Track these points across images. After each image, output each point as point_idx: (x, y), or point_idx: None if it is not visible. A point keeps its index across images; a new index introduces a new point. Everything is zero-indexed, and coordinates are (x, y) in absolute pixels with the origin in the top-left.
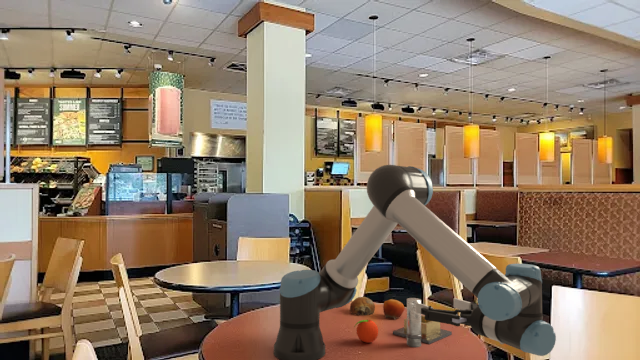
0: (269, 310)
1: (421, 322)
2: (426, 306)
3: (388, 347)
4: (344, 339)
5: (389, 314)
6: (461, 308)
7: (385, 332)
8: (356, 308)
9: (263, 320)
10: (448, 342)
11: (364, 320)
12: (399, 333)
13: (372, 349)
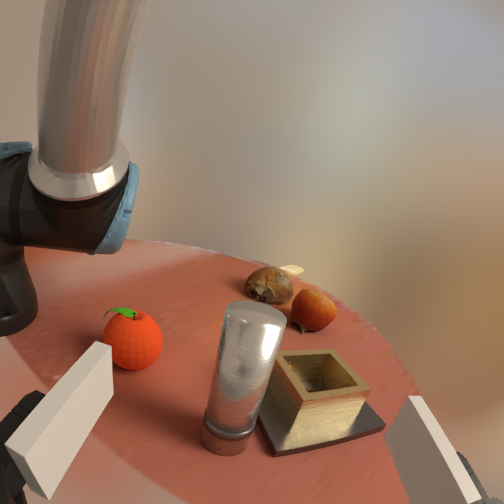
0: (146, 244)
1: (300, 384)
2: (35, 408)
3: (140, 409)
4: None
5: (295, 318)
6: (408, 480)
7: None
8: (250, 284)
9: None
10: (342, 468)
11: (127, 311)
12: None
13: None
